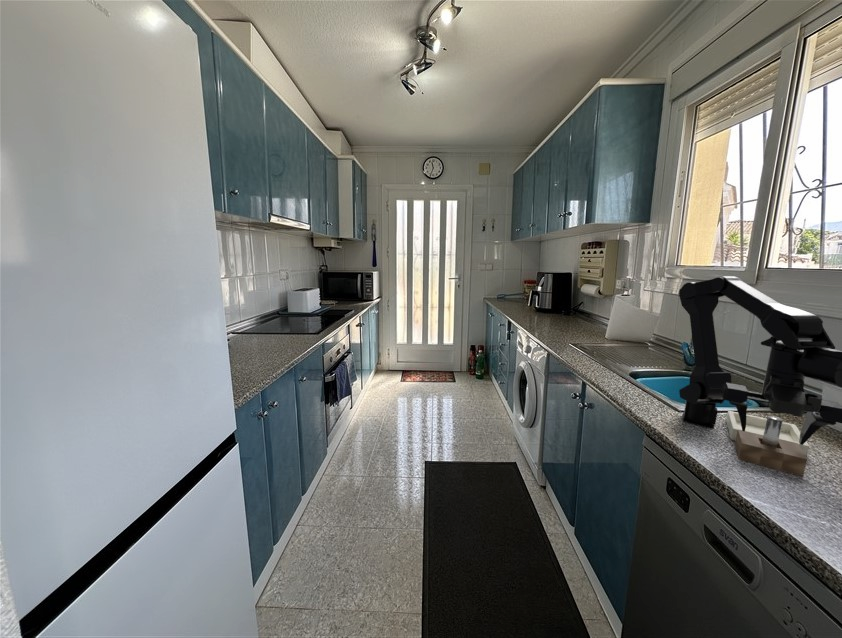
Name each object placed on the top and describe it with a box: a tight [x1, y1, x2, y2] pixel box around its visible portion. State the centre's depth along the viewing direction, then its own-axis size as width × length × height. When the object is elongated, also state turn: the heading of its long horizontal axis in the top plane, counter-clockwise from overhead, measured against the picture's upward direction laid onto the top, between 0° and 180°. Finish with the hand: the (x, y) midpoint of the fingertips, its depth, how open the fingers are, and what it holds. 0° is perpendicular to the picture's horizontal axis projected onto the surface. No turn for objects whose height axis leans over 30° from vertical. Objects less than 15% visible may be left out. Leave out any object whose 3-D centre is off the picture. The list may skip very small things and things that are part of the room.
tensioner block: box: [734, 429, 808, 478], centre depth 77 cm, size 10×8×4 cm
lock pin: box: [762, 415, 784, 448], centre depth 77 cm, size 2×2×10 cm
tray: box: [725, 410, 810, 459], centre depth 87 cm, size 13×13×3 cm
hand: (771, 436), depth 77 cm, fingers open, 9 cm apart
